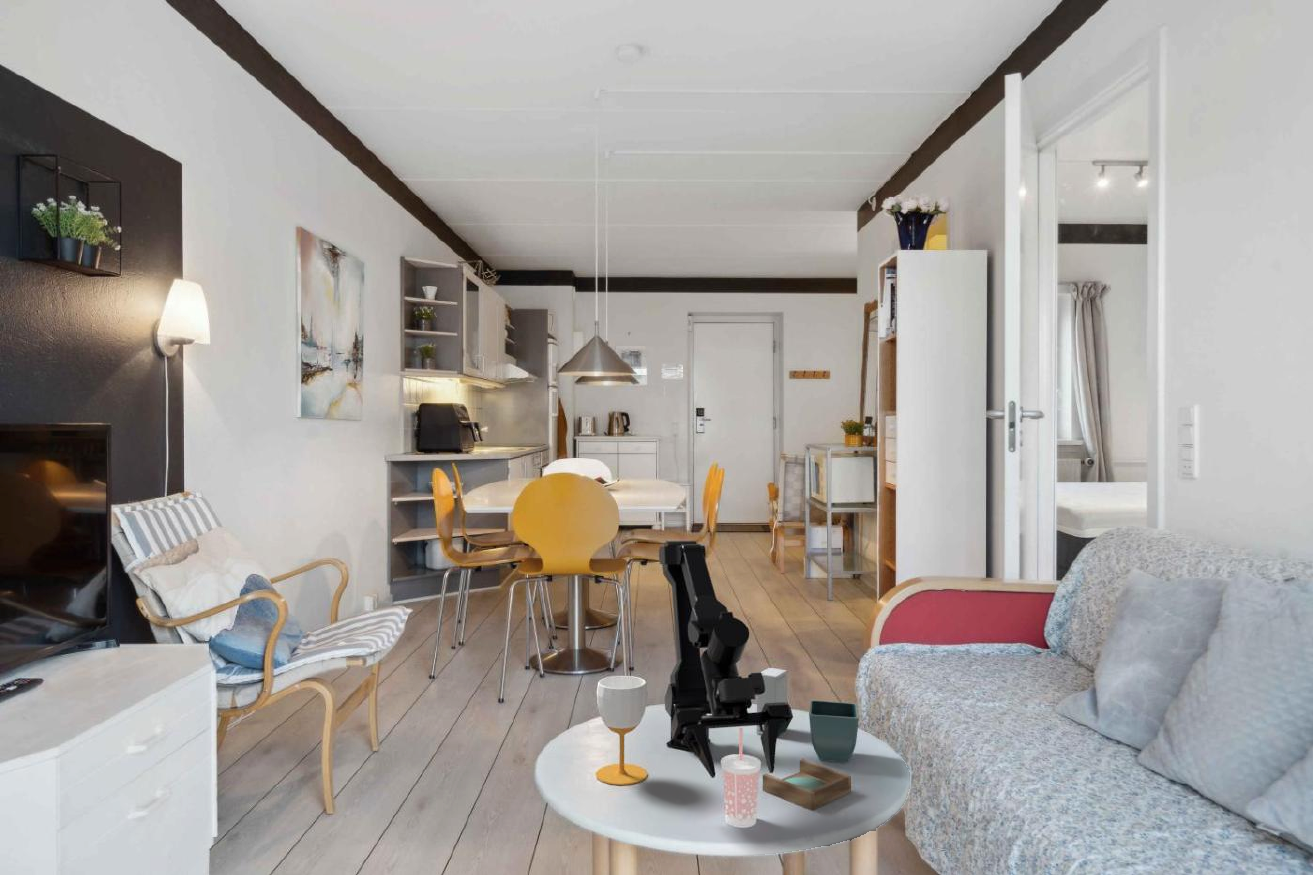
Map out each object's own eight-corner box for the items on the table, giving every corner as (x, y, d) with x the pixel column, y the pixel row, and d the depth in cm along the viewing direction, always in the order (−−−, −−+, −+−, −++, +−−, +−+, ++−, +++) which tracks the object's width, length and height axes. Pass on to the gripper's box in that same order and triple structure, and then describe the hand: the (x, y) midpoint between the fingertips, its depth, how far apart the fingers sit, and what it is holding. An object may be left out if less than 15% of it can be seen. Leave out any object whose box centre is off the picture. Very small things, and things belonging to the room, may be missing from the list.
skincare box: (775, 738, 160) (775, 676, 160) (755, 734, 162) (756, 673, 162) (787, 729, 165) (788, 669, 165) (768, 725, 167) (768, 666, 167)
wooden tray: (762, 790, 135) (762, 774, 135) (802, 773, 142) (802, 758, 142) (811, 810, 127) (811, 793, 127) (851, 791, 134) (851, 776, 134)
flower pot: (859, 768, 144) (859, 717, 145) (808, 764, 146) (808, 714, 146) (857, 750, 153) (857, 702, 153) (809, 747, 155) (809, 699, 155)
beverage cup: (766, 816, 125) (766, 725, 125) (753, 833, 120) (753, 737, 120) (728, 809, 128) (728, 719, 128) (714, 825, 122) (715, 731, 122)
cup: (623, 761, 147) (623, 672, 148) (658, 775, 141) (659, 682, 141) (584, 774, 141) (585, 681, 141) (619, 790, 135) (620, 692, 135)
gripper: (675, 657, 126) (692, 754, 115) (788, 651, 130) (816, 745, 119) (664, 693, 134) (679, 788, 123) (771, 687, 138) (796, 778, 127)
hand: (743, 774), depth 123 cm, fingers open, 9 cm apart
